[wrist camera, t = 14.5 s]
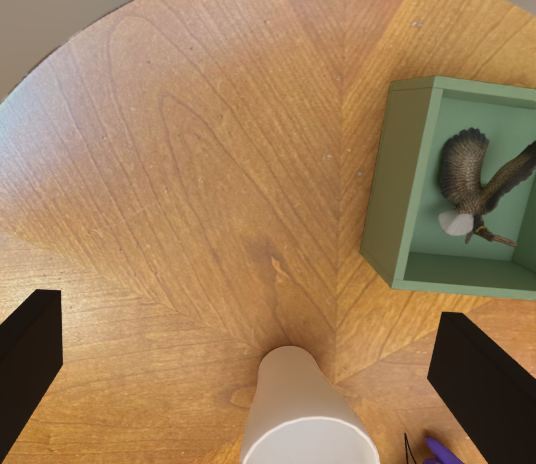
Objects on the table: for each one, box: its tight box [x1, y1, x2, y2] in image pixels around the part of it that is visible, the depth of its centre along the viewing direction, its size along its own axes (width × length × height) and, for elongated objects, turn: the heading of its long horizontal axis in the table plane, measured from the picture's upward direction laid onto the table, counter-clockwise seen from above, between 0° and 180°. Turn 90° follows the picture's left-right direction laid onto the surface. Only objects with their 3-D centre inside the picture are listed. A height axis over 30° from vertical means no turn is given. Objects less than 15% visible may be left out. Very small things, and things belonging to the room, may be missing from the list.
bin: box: [360, 75, 536, 301], centre depth 37 cm, size 16×16×9 cm
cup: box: [239, 346, 381, 464], centre depth 39 cm, size 10×10×14 cm
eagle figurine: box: [438, 127, 536, 247], centre depth 38 cm, size 8×7×9 cm
